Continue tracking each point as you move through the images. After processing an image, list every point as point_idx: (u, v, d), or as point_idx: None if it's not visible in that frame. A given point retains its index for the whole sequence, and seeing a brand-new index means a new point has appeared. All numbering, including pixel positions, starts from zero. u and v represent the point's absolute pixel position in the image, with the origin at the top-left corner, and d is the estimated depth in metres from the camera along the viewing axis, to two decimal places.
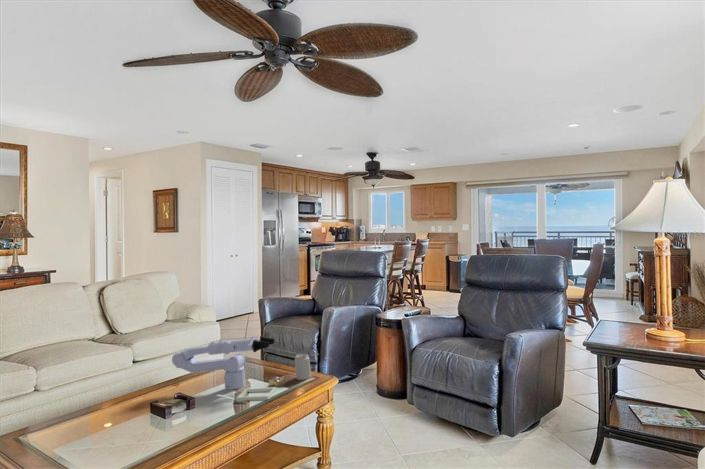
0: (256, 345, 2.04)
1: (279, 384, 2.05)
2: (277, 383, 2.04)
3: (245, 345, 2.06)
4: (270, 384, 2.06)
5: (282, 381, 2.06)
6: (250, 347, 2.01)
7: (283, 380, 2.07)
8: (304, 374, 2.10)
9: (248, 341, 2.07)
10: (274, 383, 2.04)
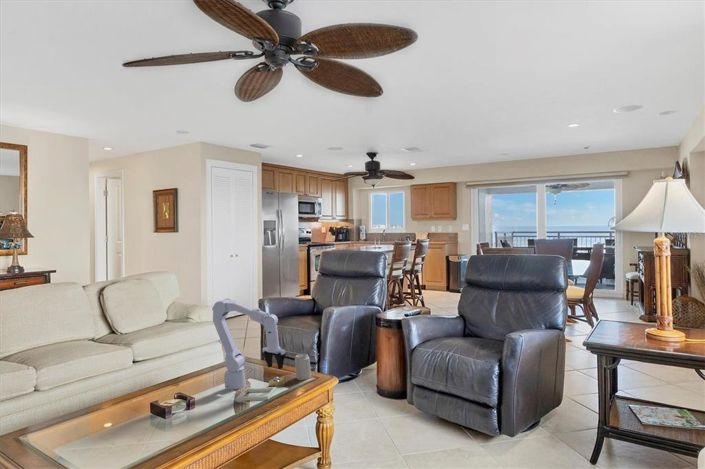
0: (280, 356, 2.04)
1: (279, 384, 2.05)
2: (277, 383, 2.04)
3: (277, 342, 2.05)
4: (270, 384, 2.06)
5: (282, 381, 2.06)
6: (283, 353, 2.02)
7: (283, 380, 2.07)
8: (304, 374, 2.10)
9: (278, 344, 2.07)
10: (274, 383, 2.04)
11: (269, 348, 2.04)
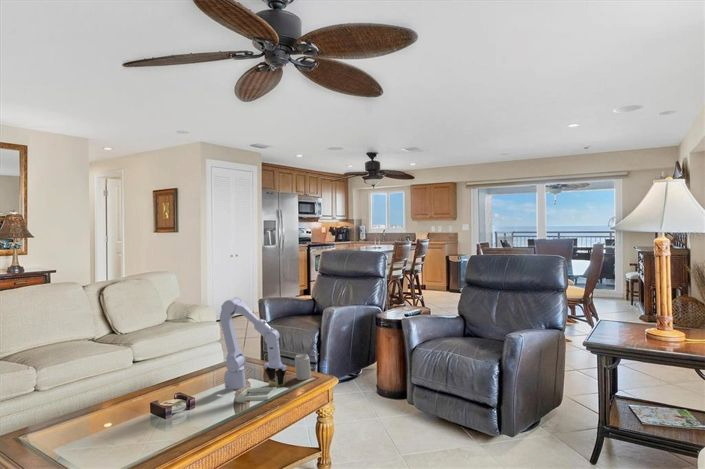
0: (280, 371, 2.05)
1: None
2: (277, 383, 2.04)
3: (278, 358, 2.05)
4: (270, 384, 2.06)
5: None
6: (285, 369, 2.02)
7: (283, 380, 2.07)
8: (304, 374, 2.10)
9: (280, 360, 2.07)
10: (274, 383, 2.04)
11: (271, 364, 2.04)
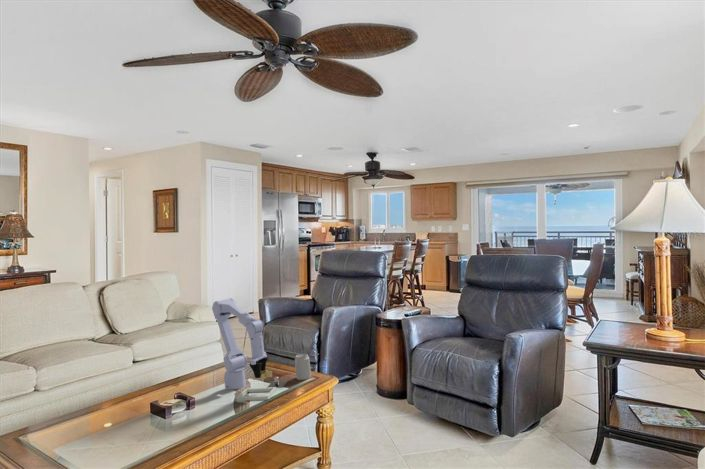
0: (256, 365, 1.95)
1: None
2: (254, 376, 1.96)
3: (256, 351, 1.96)
4: None
5: (261, 375, 1.96)
6: (252, 363, 1.92)
7: (262, 375, 1.96)
8: (304, 374, 2.10)
9: (260, 353, 1.97)
10: None
11: None
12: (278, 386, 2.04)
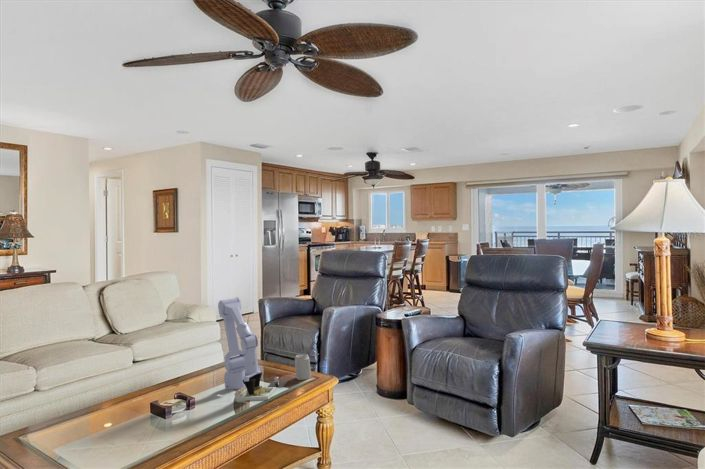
0: None
1: None
2: None
3: (249, 367, 1.92)
4: None
5: (255, 392, 1.92)
6: (245, 380, 1.88)
7: (256, 391, 1.92)
8: (304, 374, 2.10)
9: (254, 369, 1.93)
10: None
11: None
12: (278, 386, 2.04)
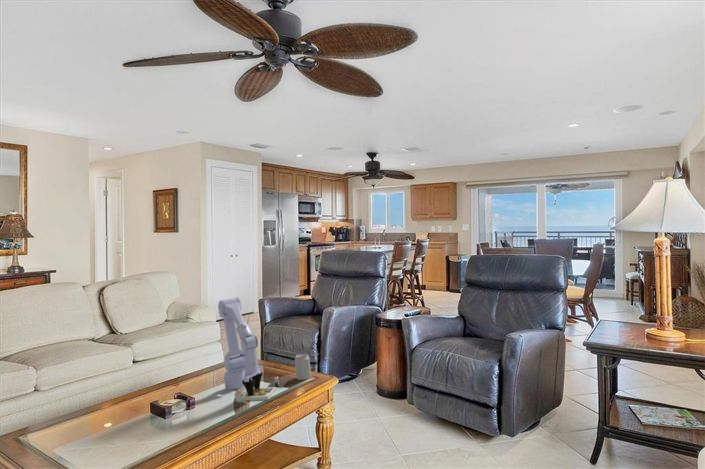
0: None
1: None
2: None
3: (249, 367, 1.92)
4: None
5: (255, 394, 1.92)
6: (245, 380, 1.88)
7: (256, 394, 1.92)
8: (304, 374, 2.10)
9: (254, 369, 1.93)
10: None
11: None
12: (278, 386, 2.04)
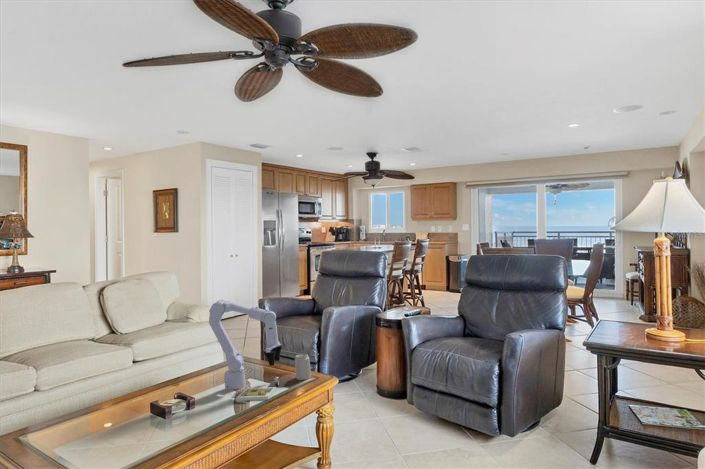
0: None
1: None
2: (248, 395, 1.93)
3: (270, 340, 2.09)
4: None
5: (255, 394, 1.92)
6: (267, 351, 2.05)
7: (256, 394, 1.92)
8: (304, 374, 2.10)
9: (274, 342, 2.10)
10: None
11: None
12: (278, 386, 2.04)
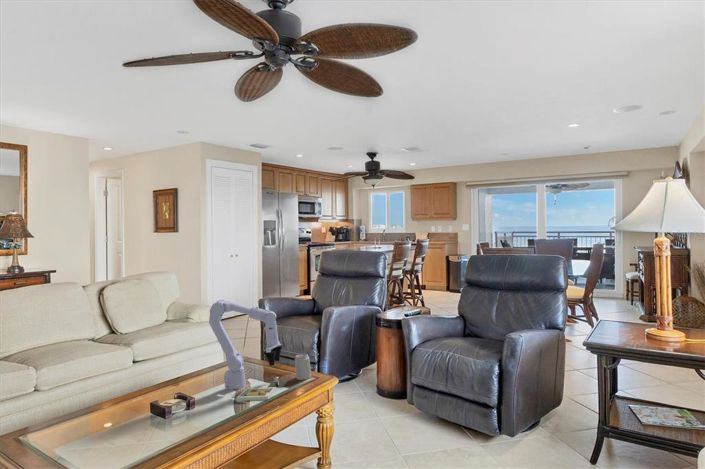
0: (270, 353, 2.08)
1: None
2: (248, 395, 1.93)
3: (270, 339, 2.09)
4: None
5: (255, 394, 1.92)
6: (267, 351, 2.05)
7: (256, 394, 1.92)
8: (304, 374, 2.10)
9: (274, 342, 2.10)
10: None
11: None
12: (278, 386, 2.04)
